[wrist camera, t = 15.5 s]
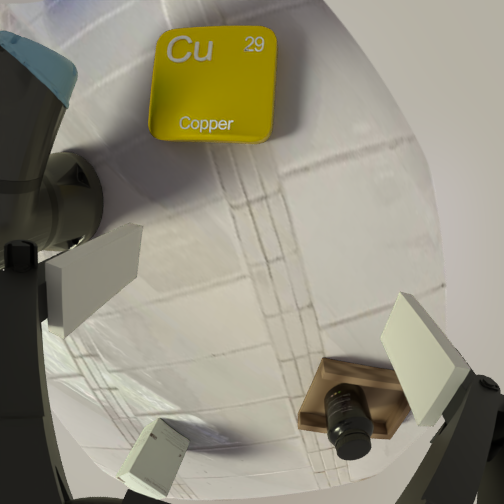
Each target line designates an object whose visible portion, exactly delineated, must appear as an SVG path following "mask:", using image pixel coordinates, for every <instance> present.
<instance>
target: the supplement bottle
mask: <svg viewBox="0 0 504 504" xmlns="http://www.w3.org/2000/svg"><path fill="white" fill-rule="evenodd" d="M324 409H325V418H326V427H327V435H328V439H329V441H330V442H331V443H332V444H333V445H334V446H335V448H336V451H337V455H338V457H339V458H341V459H344V460H357V459H360V458H362V457H363V456H365V455H366V454H368V452H369V451H370V450H371V441H370V437H371V436H372V434H373V431H374V424H373V420H372V417H371V413H370V409H369V406H368V402H367V399H366V396H365V393H364V390H363V389H362V388H361V387H360V386H359V385H355V384H349V383H342V384H339V385H336V386H334V387H333V388H331V389H330V390H329V391H328V392H327V394H326V395H325V398H324Z"/></svg>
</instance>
